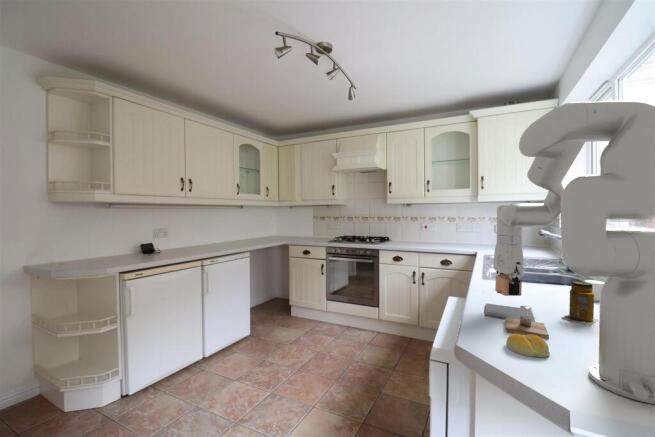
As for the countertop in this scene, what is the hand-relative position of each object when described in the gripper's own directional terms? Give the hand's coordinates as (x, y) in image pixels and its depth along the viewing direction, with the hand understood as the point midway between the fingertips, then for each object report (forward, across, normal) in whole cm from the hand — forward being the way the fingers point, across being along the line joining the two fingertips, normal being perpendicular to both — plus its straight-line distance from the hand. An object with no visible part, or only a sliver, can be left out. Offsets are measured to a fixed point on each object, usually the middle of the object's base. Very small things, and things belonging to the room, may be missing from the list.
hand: (508, 292), depth 103 cm
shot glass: (+8, -17, +46) cm, 49 cm away
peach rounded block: (0, 0, 0) cm, 0 cm away
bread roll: (+8, +28, -12) cm, 31 cm away
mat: (+7, 0, 0) cm, 7 cm away
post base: (+7, +14, -4) cm, 17 cm away
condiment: (+8, +6, +20) cm, 22 cm away
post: (+6, +14, -4) cm, 16 cm away
